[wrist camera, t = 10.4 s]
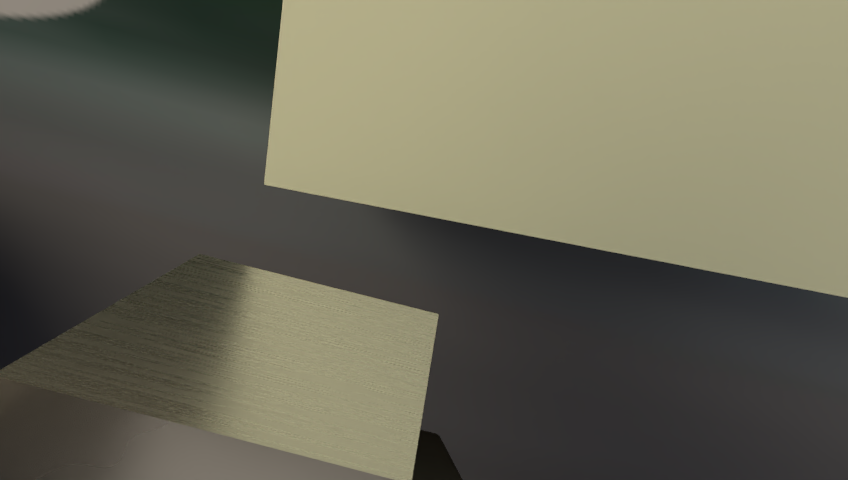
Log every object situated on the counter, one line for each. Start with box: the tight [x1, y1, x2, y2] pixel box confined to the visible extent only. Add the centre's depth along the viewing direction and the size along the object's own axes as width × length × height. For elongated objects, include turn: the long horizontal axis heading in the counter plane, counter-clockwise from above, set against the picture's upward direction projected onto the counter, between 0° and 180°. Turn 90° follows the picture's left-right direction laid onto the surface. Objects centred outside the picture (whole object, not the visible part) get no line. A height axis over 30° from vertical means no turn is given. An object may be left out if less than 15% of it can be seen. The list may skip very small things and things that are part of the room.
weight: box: [0, 254, 439, 480], centre depth 7 cm, size 4×4×4 cm
